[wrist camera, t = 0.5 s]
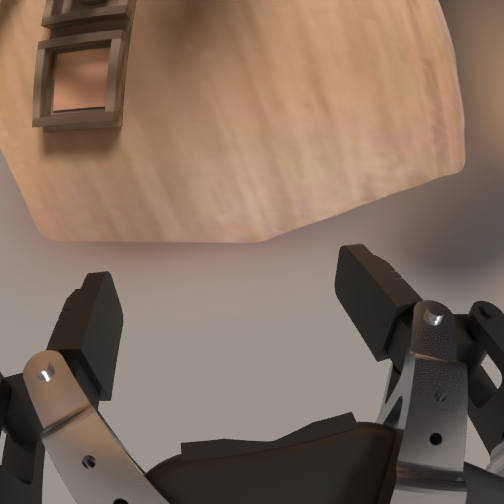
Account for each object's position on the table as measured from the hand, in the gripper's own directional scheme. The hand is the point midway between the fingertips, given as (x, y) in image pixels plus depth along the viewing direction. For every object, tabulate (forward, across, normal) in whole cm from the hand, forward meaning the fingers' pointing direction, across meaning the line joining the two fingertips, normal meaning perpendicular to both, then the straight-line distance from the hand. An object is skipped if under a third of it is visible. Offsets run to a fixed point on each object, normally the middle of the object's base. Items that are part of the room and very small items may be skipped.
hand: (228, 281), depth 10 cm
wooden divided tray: (+28, +12, -16) cm, 35 cm away
